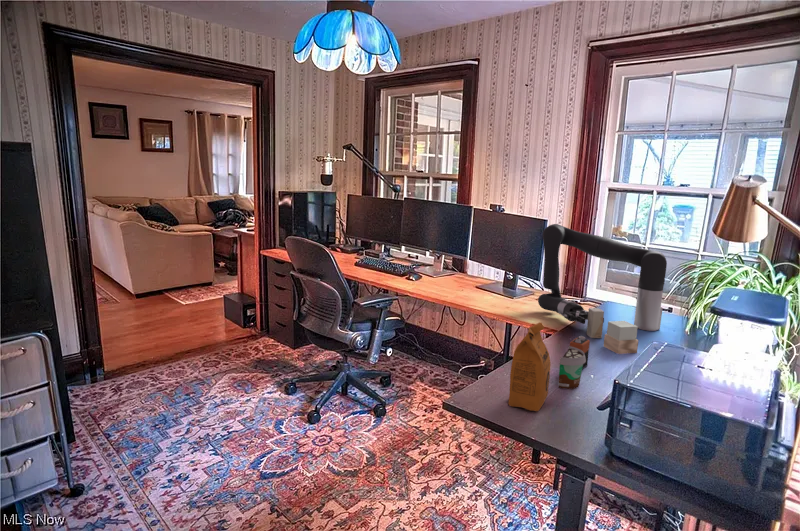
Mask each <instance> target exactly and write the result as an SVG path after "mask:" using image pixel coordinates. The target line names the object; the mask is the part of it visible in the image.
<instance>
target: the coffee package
mask: <svg viewBox="0 0 800 531" xmlns="http://www.w3.org/2000/svg"><path fill="white" fill-rule="evenodd" d="M544 329H545V325H544V324H543V323H542V322H538V323H536V324H534V325H532V326H529V327H528V331H527V333H526V335H525V336H524V337H523V338H522V340H521V341H520V342H519V343H518V344H517V346H516V347H515V350H514V352H513V356H512V361H511V362H512V363H511V367H510V374H509V394H508V403H507V404H508V406H510V407H512V408H514V407H515V408H522V409H524V410H527V411H530V412H531V411H535V412H538V411H540V410H541V408H542V406H543V405H544V403H545V402H546V399H547V397H548V395H549V386H550V385H549V384H550V378H551V376H550V374H551V364H552V363H551V358H550V357H551V356H550V352H549V351H548V348H547V346H546V344H545V343H544V341H543V338H542V332H541V331H543V330H544Z"/></svg>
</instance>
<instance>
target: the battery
mask: <svg viewBox="0 0 800 531" xmlns="http://www.w3.org/2000/svg"><path fill="white" fill-rule="evenodd" d="M569 346H571V347H575V348H578V349H580V350H582V351H583V352H584V354H585V358H586V362H585V363H584V364H583V367H582V370H583V369H584V368H586V367H587V366H588V364H589V363H588V361H589V353H590V352H589V350H590V339H587V338H586V337H585V336H583V335H580V336H578V337H575V338H574V339H573V340H571V341H570V342H569Z"/></svg>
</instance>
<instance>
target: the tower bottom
mask: <svg viewBox="0 0 800 531" xmlns="http://www.w3.org/2000/svg"><path fill="white" fill-rule="evenodd" d="M638 347H639V339H637V338H636V340H622V341H619V340H617V339H615V338H613V337H611V336H609V335H607V333H605V334H604V340H603V348H606V349H608V350H609V351H611V352H614V353H615V354H617V355H625V354H637V353H638V349H639V348H638Z"/></svg>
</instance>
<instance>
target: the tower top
mask: <svg viewBox="0 0 800 531" xmlns="http://www.w3.org/2000/svg"><path fill="white" fill-rule="evenodd" d="M606 334H607V335H609V336H611V337H613V338H615V339H617V340H619V341H622V340H636V339H637V335H638V326H635V325H634V324H633V323H631V322H628V321H626V320H616V321H615V320H612V321H610V320H609V321H607V327H606Z"/></svg>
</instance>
